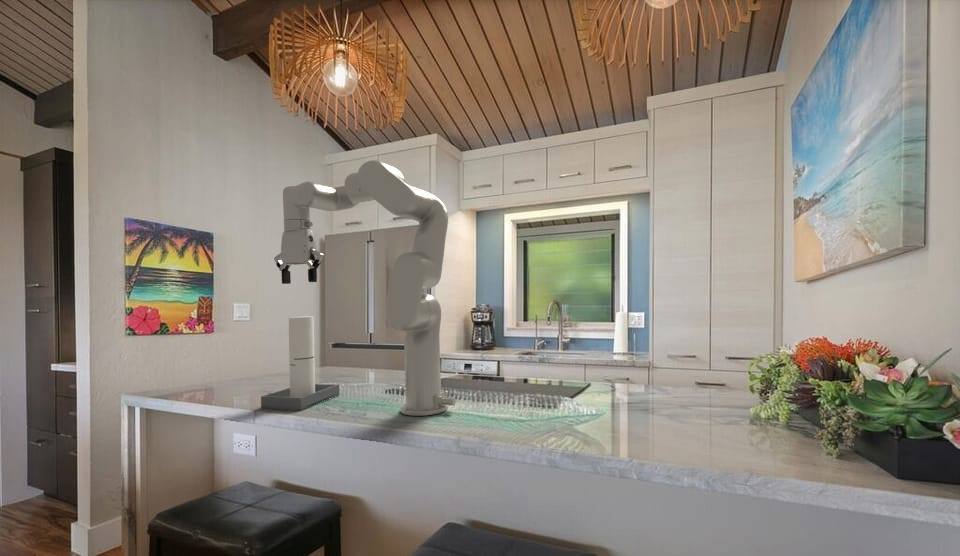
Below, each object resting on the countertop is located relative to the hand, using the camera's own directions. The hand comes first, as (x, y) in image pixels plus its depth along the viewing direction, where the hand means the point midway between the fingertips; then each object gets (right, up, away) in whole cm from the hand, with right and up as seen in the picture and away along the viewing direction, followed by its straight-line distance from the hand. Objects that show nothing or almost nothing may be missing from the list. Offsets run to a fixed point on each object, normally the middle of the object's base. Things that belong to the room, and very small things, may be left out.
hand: (299, 282), depth 140 cm
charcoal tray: (+1, -36, -1) cm, 36 cm away
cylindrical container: (+1, -36, -1) cm, 36 cm away
